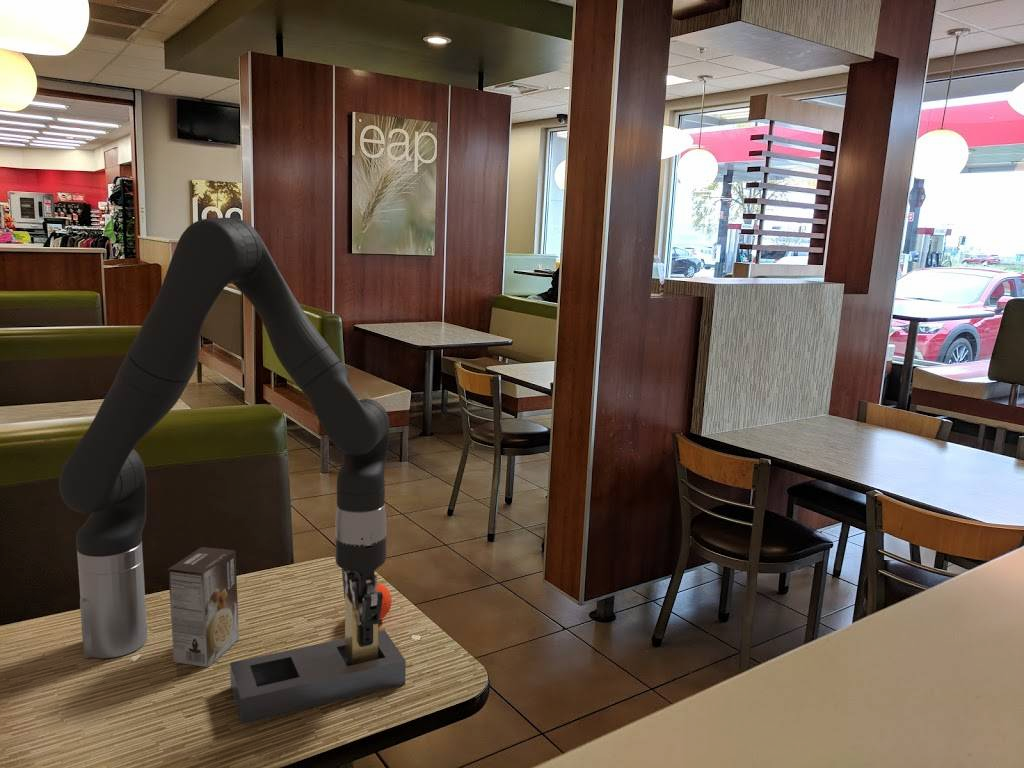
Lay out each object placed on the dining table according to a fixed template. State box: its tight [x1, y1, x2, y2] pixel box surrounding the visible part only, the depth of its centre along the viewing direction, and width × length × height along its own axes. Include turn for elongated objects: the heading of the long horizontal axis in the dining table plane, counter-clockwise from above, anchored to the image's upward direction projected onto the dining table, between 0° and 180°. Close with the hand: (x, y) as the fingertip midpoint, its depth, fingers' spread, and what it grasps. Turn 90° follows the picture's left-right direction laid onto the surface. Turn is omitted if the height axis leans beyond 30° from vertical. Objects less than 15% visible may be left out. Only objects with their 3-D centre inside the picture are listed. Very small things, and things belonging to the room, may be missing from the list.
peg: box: [344, 593, 379, 665], centre depth 119 cm, size 4×4×10 cm
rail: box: [229, 629, 407, 725], centre depth 117 cm, size 24×10×4 cm, turn 118°
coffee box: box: [167, 546, 240, 668], centre depth 124 cm, size 9×6×16 cm
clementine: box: [376, 581, 393, 621], centre depth 136 cm, size 8×7×7 cm
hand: (361, 637), depth 119 cm, fingers closed on peg, 4 cm apart
